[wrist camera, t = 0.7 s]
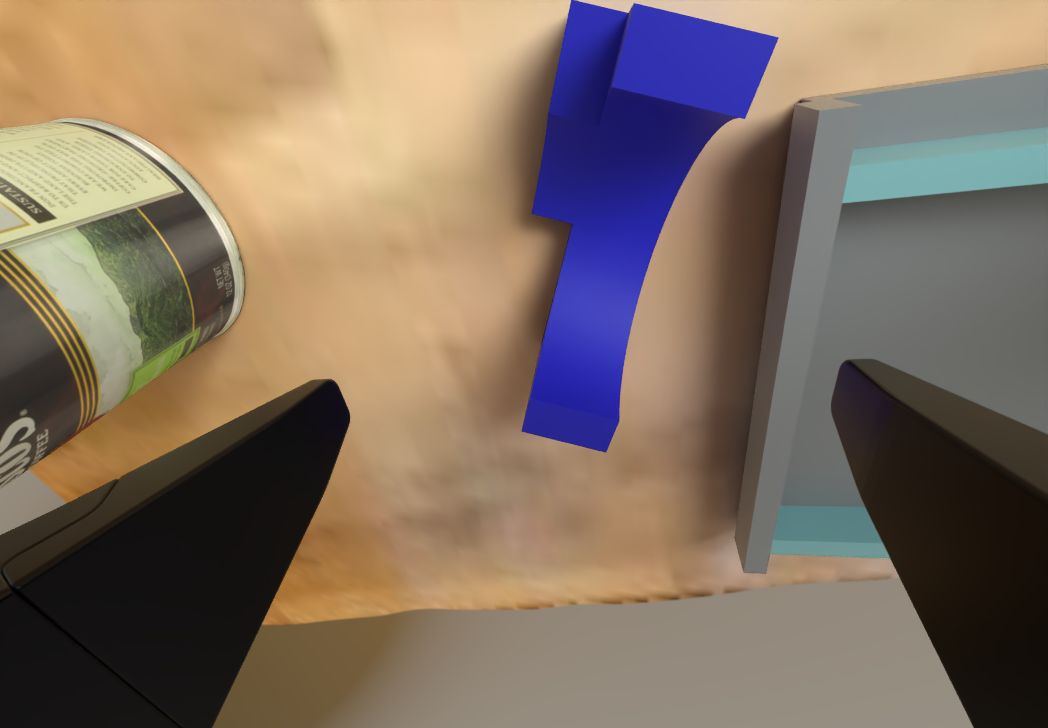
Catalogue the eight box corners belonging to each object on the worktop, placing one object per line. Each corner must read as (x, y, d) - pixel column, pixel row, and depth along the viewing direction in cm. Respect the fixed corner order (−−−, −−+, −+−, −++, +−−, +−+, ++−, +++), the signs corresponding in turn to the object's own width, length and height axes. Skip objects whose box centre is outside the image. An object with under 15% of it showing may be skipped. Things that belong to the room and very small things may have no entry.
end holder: (1435, 8, 12) (1652, -3, 9) (1068, 529, 22) (1125, 589, 20) (784, 101, 15) (819, 111, 12) (730, 522, 25) (743, 572, 23)
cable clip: (577, 8, 15) (561, -15, 10) (720, 42, 15) (778, 37, 10) (509, 335, 21) (479, 420, 16) (606, 359, 21) (606, 452, 16)
